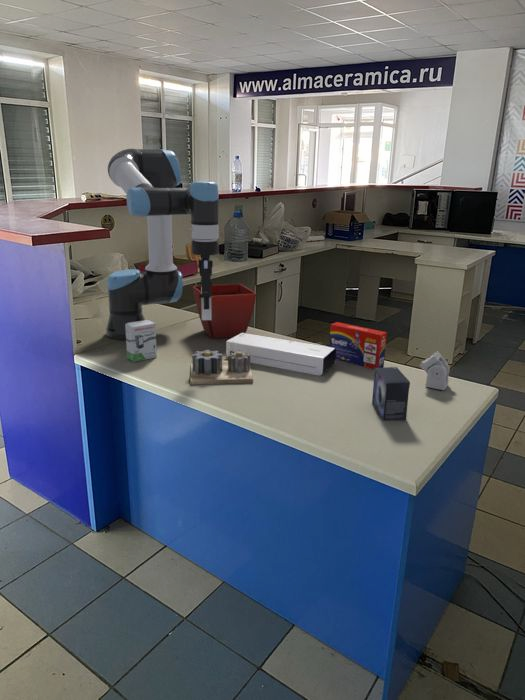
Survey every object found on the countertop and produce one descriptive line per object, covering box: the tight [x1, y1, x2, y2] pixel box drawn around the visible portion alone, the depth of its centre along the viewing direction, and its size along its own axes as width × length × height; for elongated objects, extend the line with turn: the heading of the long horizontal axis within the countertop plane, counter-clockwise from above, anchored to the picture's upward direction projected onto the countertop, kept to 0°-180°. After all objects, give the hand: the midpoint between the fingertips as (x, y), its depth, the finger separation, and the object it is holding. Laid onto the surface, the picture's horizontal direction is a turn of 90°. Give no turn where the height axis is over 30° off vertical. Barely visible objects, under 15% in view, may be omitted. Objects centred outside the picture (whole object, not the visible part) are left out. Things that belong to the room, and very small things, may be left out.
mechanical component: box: [419, 351, 450, 391], centre depth 153 cm, size 5×8×10 cm
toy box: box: [328, 321, 388, 371], centre depth 170 cm, size 18×4×12 cm, turn 52°
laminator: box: [225, 332, 337, 377], centre depth 170 cm, size 34×12×6 cm, turn 64°
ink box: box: [125, 319, 158, 363], centre depth 171 cm, size 9×5×12 cm, turn 129°
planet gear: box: [191, 349, 223, 376], centre depth 159 cm, size 9×9×5 cm
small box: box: [371, 366, 411, 421], centre depth 135 cm, size 11×6×10 cm, turn 5°
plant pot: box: [192, 283, 257, 339], centre depth 198 cm, size 19×19×17 cm
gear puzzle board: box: [190, 351, 254, 385], centre depth 159 cm, size 16×18×7 cm
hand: (206, 313), depth 154 cm, fingers open, 13 cm apart
